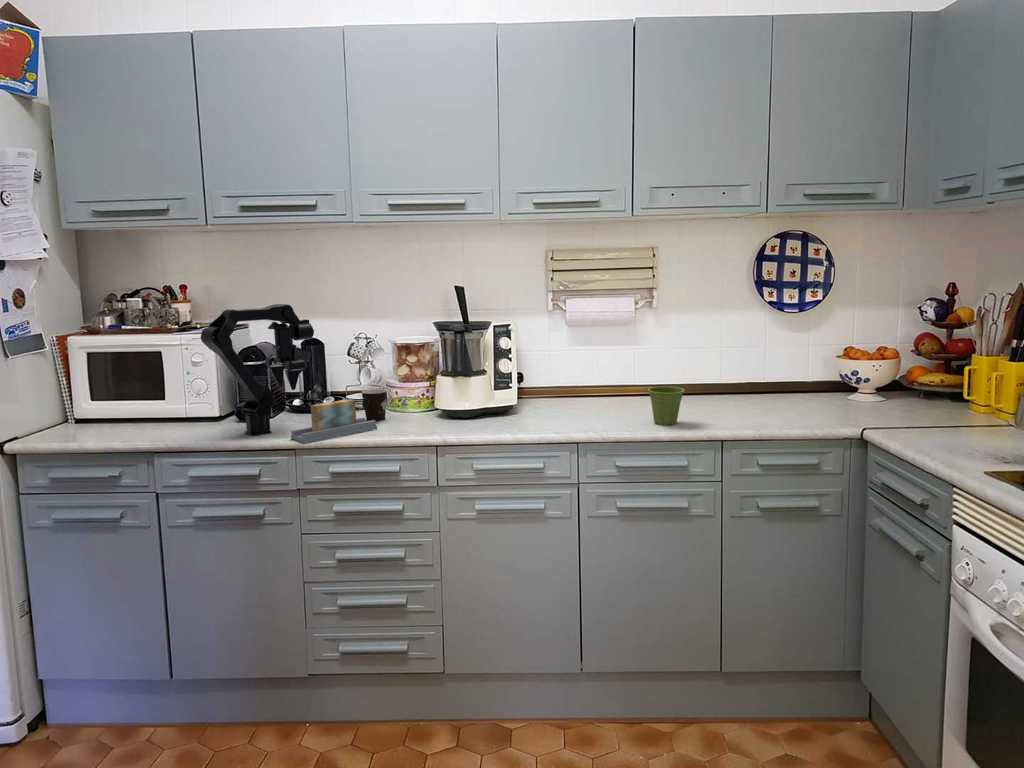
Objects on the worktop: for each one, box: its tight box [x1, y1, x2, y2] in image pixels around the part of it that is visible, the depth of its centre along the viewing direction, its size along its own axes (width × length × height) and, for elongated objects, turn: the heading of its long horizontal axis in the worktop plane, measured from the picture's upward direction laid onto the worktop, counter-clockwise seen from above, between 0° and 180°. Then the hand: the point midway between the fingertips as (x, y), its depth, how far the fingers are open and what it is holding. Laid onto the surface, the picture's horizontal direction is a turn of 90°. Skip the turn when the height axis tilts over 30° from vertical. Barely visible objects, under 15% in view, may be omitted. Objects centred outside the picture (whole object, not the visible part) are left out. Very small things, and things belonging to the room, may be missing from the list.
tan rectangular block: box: [310, 398, 357, 432], centre depth 247 cm, size 14×4×9 cm, turn 134°
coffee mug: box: [361, 388, 388, 422], centre depth 267 cm, size 12×9×10 cm
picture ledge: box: [290, 417, 378, 444], centre depth 248 cm, size 26×9×3 cm, turn 134°
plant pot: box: [647, 386, 686, 426], centre depth 252 cm, size 12×12×11 cm
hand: (287, 388), depth 259 cm, fingers open, 9 cm apart
